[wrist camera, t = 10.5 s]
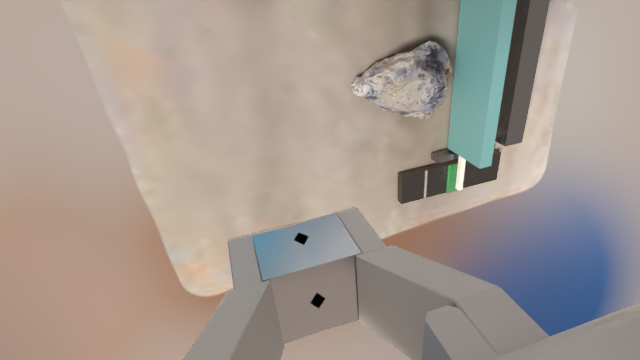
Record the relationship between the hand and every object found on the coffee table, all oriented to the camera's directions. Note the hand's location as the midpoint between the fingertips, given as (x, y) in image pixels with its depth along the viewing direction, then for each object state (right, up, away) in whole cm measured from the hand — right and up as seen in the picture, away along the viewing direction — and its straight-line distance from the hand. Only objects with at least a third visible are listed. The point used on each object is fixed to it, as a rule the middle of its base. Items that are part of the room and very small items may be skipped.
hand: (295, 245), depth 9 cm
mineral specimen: (+9, +13, +31) cm, 35 cm away
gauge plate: (+16, +11, +34) cm, 39 cm away
